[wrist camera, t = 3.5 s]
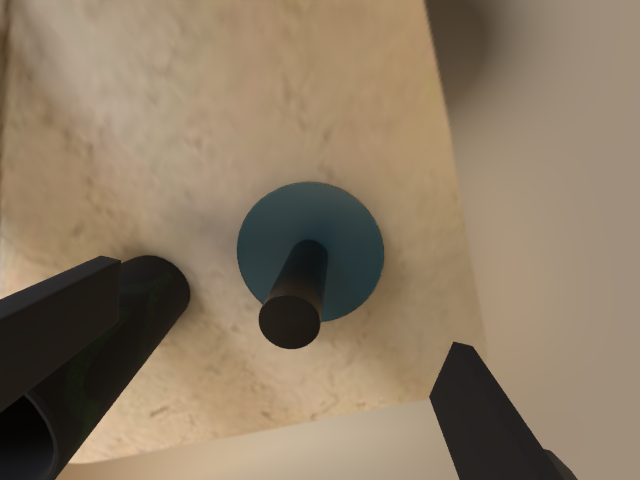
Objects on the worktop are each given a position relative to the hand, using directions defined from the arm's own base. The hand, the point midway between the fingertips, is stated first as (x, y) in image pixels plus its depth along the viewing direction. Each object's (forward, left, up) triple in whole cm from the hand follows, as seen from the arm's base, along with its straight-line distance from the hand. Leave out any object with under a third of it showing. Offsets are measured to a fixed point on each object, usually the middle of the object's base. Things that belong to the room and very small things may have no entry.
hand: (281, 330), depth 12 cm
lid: (0, 0, -9) cm, 9 cm away
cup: (+11, +6, -10) cm, 16 cm away
